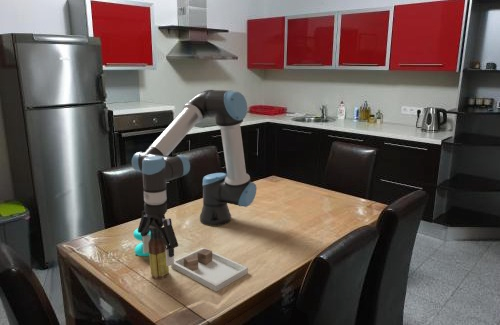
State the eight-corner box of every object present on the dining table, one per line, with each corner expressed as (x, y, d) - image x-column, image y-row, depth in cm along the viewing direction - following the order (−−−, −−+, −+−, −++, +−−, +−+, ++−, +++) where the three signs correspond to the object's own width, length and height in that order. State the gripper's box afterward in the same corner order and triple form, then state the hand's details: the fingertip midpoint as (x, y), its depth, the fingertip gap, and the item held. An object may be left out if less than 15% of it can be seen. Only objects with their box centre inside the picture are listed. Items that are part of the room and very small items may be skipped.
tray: (171, 269, 145) (171, 262, 145) (203, 254, 157) (203, 247, 156) (216, 293, 130) (216, 285, 129) (247, 275, 142) (247, 267, 141)
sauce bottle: (170, 272, 143) (167, 221, 139) (167, 281, 137) (164, 229, 132) (152, 272, 143) (149, 221, 138) (148, 281, 137) (145, 229, 132)
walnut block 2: (197, 262, 149) (197, 252, 148) (204, 257, 152) (203, 248, 151) (206, 264, 147) (205, 255, 146) (212, 260, 150) (212, 251, 149)
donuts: (160, 232, 153) (134, 236, 150) (161, 255, 155) (136, 260, 152) (157, 223, 162) (132, 226, 159) (158, 245, 164) (133, 248, 161)
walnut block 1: (183, 267, 145) (183, 257, 144) (193, 264, 147) (193, 254, 146) (188, 272, 142) (188, 262, 141) (198, 269, 144) (198, 259, 143)
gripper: (125, 196, 138) (129, 250, 143) (169, 213, 123) (171, 274, 128) (143, 191, 144) (146, 244, 149) (187, 207, 128) (189, 266, 133)
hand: (158, 258), depth 138 cm, fingers open, 13 cm apart
